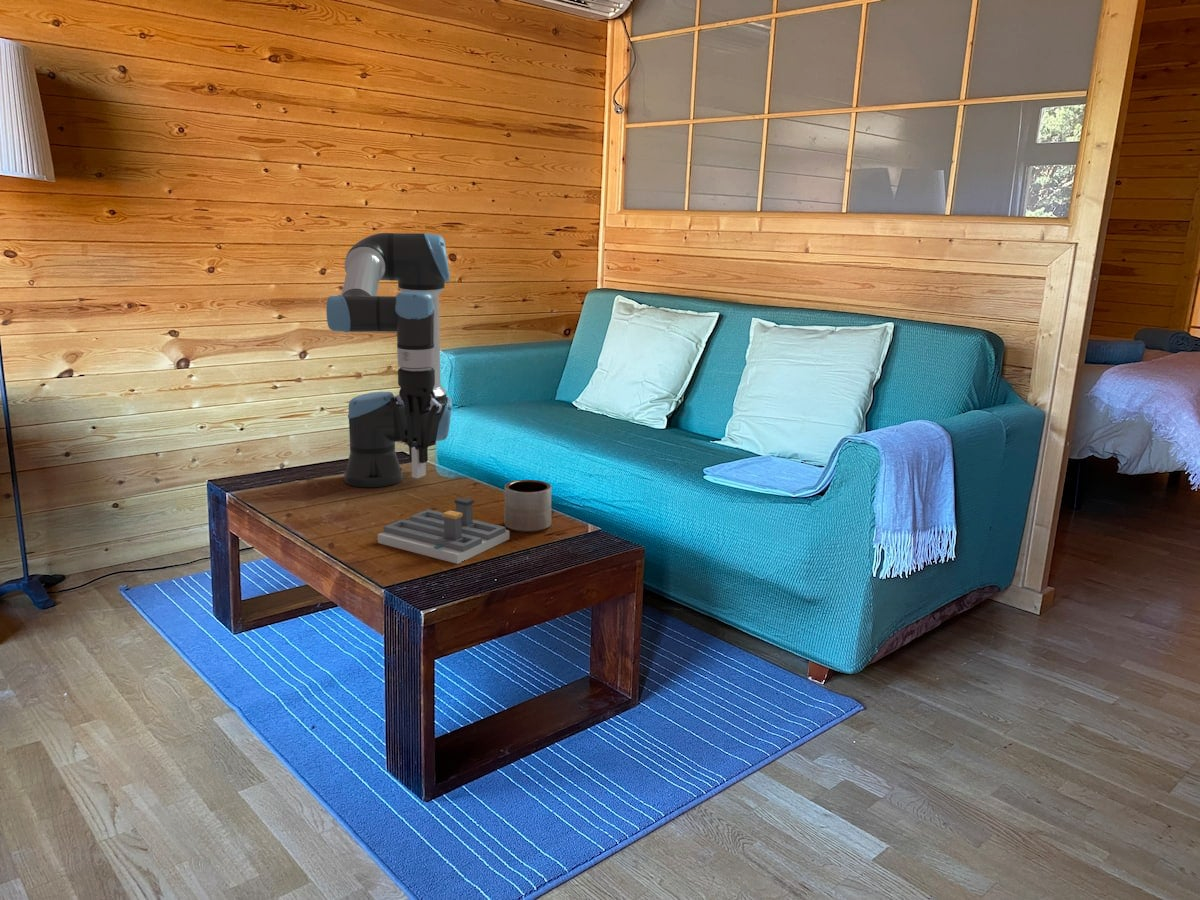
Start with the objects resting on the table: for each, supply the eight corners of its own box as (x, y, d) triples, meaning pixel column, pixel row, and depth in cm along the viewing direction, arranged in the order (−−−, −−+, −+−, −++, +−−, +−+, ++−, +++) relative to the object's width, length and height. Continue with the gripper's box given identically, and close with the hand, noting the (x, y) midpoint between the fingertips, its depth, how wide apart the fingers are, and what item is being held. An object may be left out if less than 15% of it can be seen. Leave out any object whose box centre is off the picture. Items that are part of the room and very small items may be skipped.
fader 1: (449, 537, 194) (448, 509, 192) (464, 541, 192) (463, 513, 190) (442, 541, 192) (441, 512, 190) (456, 544, 190) (456, 516, 188)
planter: (521, 515, 217) (521, 476, 215) (559, 523, 212) (560, 483, 210) (495, 527, 208) (494, 487, 205) (535, 536, 203) (535, 495, 200)
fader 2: (460, 524, 203) (460, 497, 201) (474, 527, 201) (474, 500, 199) (453, 526, 201) (453, 499, 199) (468, 530, 199) (467, 502, 197)
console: (432, 520, 211) (432, 507, 210) (509, 539, 201) (509, 525, 200) (377, 542, 196) (377, 528, 195) (457, 563, 185) (457, 549, 185)
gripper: (379, 366, 187) (383, 475, 194) (428, 374, 181) (431, 486, 187) (404, 361, 193) (407, 466, 200) (452, 368, 187) (454, 477, 194)
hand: (419, 476), depth 194 cm, fingers closed
